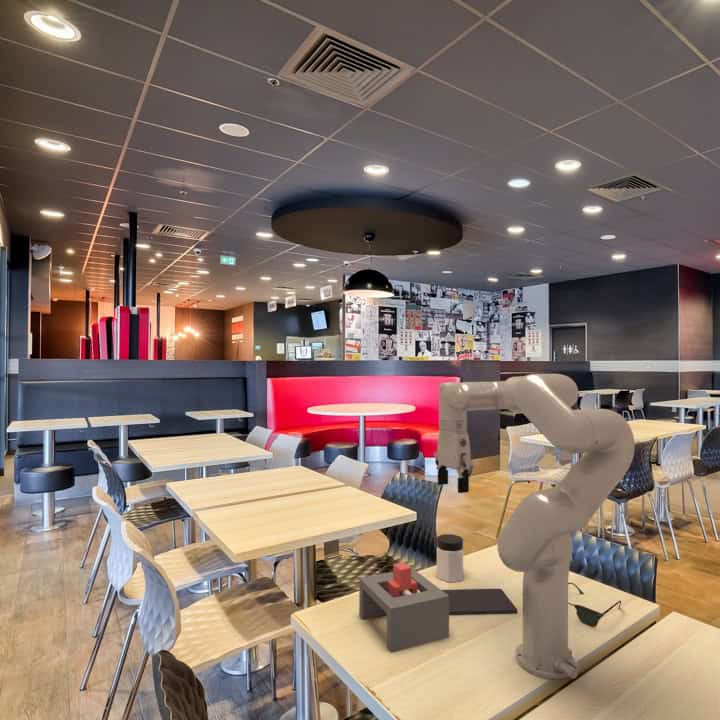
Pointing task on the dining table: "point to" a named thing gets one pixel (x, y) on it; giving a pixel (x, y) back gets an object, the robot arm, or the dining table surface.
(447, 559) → the jar
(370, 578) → the grey frame with crossbar
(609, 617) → the dining table surface
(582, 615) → the sunglasses
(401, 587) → the red stepped block
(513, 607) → the notebook
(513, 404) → the robot arm
